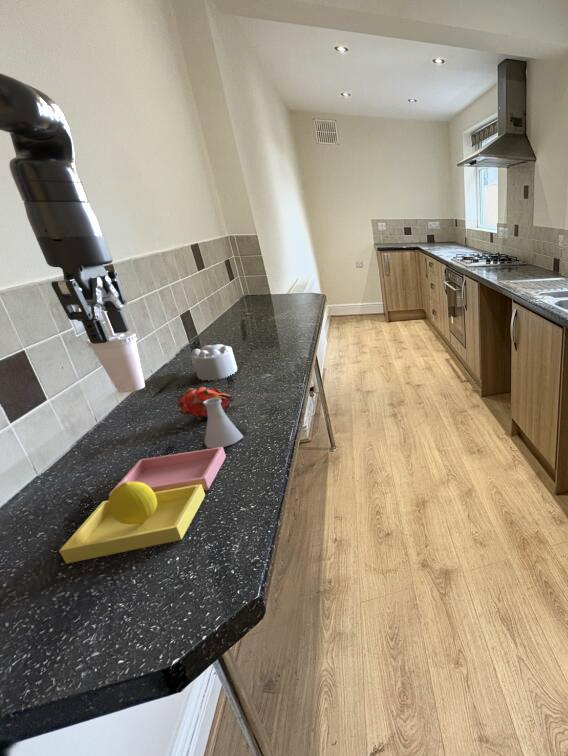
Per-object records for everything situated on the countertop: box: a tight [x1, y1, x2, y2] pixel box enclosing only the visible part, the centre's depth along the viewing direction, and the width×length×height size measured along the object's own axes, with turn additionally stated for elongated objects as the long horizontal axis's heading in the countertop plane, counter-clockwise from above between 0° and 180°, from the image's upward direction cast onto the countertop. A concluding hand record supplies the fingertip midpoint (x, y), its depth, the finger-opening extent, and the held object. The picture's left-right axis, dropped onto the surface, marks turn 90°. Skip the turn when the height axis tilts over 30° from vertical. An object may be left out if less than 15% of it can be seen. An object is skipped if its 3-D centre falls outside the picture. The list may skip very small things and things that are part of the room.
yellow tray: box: [58, 484, 206, 565], centre depth 66 cm, size 14×12×2 cm
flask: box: [203, 398, 244, 449], centre depth 90 cm, size 7×7×10 cm
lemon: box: [107, 482, 157, 525], centre depth 65 cm, size 6×6×8 cm
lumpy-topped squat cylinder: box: [190, 343, 238, 382], centre depth 130 cm, size 10×13×9 cm
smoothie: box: [86, 310, 146, 394], centre depth 71 cm, size 6×6×14 cm
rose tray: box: [108, 447, 227, 497], centre depth 78 cm, size 14×12×2 cm
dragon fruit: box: [176, 386, 235, 421], centre depth 102 cm, size 8×8×12 cm
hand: (111, 337), depth 70 cm, fingers closed on smoothie, 6 cm apart
